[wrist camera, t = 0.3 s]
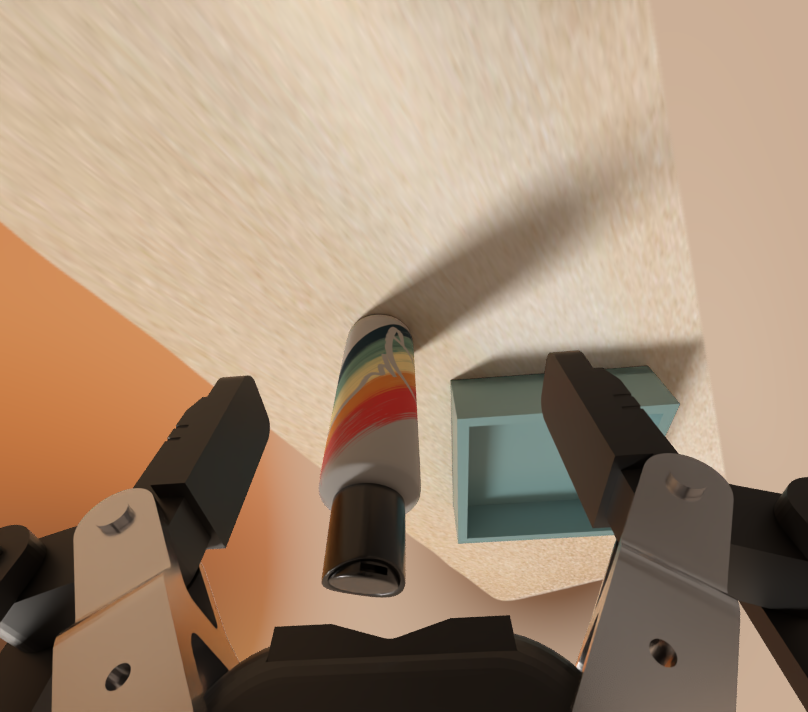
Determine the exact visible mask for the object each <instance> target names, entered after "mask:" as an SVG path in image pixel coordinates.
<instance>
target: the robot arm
mask: <svg viewBox="0 0 808 712" xmlns="http://www.w3.org/2000/svg"><path fill="white" fill-rule="evenodd" d="M640 406H641V405H640V404H639V403H638V401H637V400H636V399H635V398H634V396H631V393H630V391H629V390H628V389H627V387H626V386H625V385H624V384H623V382H622V381H621V380H620V379H619V378H617V377H616V376H614V375H613V374H611V373H610V372H608V371H607V370H605V369H604V368H593V367H592V366H591V364H590V363H589V361H588V360H587V359H586V357H585V356H584V354H583V353H582V352H581V351H579V350H578V351H566V352H553V353H549V354H548V356H547V359H546V366H545V373H544V381H543V388H542V395H541V408H542V414H543V418H544V421H545V423H546V425H547V427H548V430H549V432H550V434H551V436H552V439H553V441H554V443H555V445H556V448H557V450H558V452H559V454H560V457H561V459H562V461H563V463H564V465H565V468H566V470H567V472H568V474H569V477H570V479H571V481H572V483H573V486H574V488H575V490H576V492H577V494H578V497H579V499H580V501H581V503H582V506H583V508H584V510H585V512H586V515H587V517H588V519H589V521H590V524H591V526H592V528H609V527H611V529H612V531H613V533H614V535H615V537H616V542H615V544H614V547H613V550H612V554H611V557H610V560H609V563H608V566H607V569H606V573H605V576H604V579H603V582H602V585H601V589H600V592H599V595H598V598H597V602H596V605H595V608H594V611H593V614H592V617H591V620H590V623H589V626H588V629H587V632H586V635H585V638H584V641H583V644H582V647H581V650H580V653H579V656H578V659H577V662H576V665H575V666H574V665H573V664H572V663H571V662H570V661H568V660H567V659H565V658H564V657H563V656H561V655H560V654H558V653H557V652H555V651H554V650H552V649H550V648H548V647H546V646H545V645H543V644H541V643H539V642H537V641H534V640H532V639H529V638H527V637H524V636H520V635H517V634H514V633H513V628H512V624H511V619H510V615H507V616H487V617H467V618H450V619H447V620H445V621H442V622H439V623H436V624H434V625H431V626H428V627H425V628H422V629H419V630H417V631H414V632H411V633H408V634H406V635H403V636H400V637H397V638H394V639H386V638H381V637H377V636H374V635H370V634H366V633H362V632H359V631H355V630H351V629H348V628H344V627H340V626H337V625H333V624H323V625H303V626H284V627H275V629H274V633H273V637H272V641H271V645H270V647H268V648H265V649H263V650H261V651H259V652H257V653H255V654H253V655H251V656H249V657H248V658H246V659H245V660H243V661H242V662H239V660H238V658H237V656H236V654H235V652H234V650H233V649H232V647H231V645H230V643H229V640H228V638H227V636H226V633H225V630H224V627H223V624H222V621H221V618H220V615H219V612H218V609H217V606H216V603H215V600H214V596H213V593H212V590H211V587H210V584H209V581H208V578H207V575H206V572H205V569H204V567H203V565H202V564H201V560H202V558H203V555H204V553H205V550H206V549H221V548H226V546H227V543H228V541H229V538H230V536H231V533H232V531H233V528H234V525H235V523H236V520H237V518H238V515H239V513H240V510H241V508H242V505H243V502H244V500H245V497H246V495H247V492H248V489H249V487H250V484H251V482H252V479H253V477H254V474H255V471H256V469H257V466H258V464H259V461H260V459H261V456H262V454H263V451H264V449H265V446H266V443H267V441H268V438H269V432H270V423H269V418H268V415H267V412H266V410H265V407H264V404H263V402H262V399H261V396H260V394H259V391H258V389H257V386H256V383H255V381H254V379H253V378H252V377H251V376H236V377H223V378H220V379H219V380H218V381H217V383H216V384H215V386H214V387H213V389H212V390H211V392H210V393H209V395H208V396H207V397H202V398H201V399H200V400H199V401H198V402H196V403H195V404H194V405H193V406H191V407H190V408H189V409H188V410H187V411H186V412H185V413H184V415H183V416H182V418H181V419H180V421H179V422H178V423H177V425H176V429H173V431H172V432H171V434H170V435H169V436H168V441H165V442H164V444H163V445H162V447H161V448H160V450H159V451H158V452H157V454H156V455H155V457H154V458H153V460H152V461H151V463H150V464H149V466H148V467H147V468H146V470H145V471H144V473H143V474H142V476H141V477H140V479H139V480H138V482H137V483H136V484H135V486H134V487H133V489H128V490H124V491H121V492H118V493H116V494H114V495H112V496H110V497H108V498H106V499H105V500H103V501H102V502H100V503H99V504H97V505H96V506H95V507H94V508H92V509H91V510H90V511H89V512H88V513H87V514H86V515H85V516H84V518H83V519H82V520H81V521H80V523H79V525H78V526H76V527H72V528H69V529H66V530H63V531H60V532H57V533H54V534H51V535H48V536H45V537H42V538H39V539H38V538H37V537H36V536H35V535H34V534H33V533H32V532H30V531H29V530H28V529H27V528H26V527H24V526H21V525H11V526H6V527H2V528H0V638H1V639H3V640H4V641H6V642H7V644H6V645H5V647H4V648H3V650H2V651H1V653H0V712H736V697H737V696H736V695H737V676H738V655H739V634H740V608H739V603H738V601H739V602H740V604H741V605H742V607H743V608H744V610H745V612H746V613H747V615H748V616H749V618H750V620H751V621H752V623H753V625H754V626H755V628H756V630H757V631H758V633H759V634H760V636H761V638H762V639H763V641H764V643H765V644H766V646H767V647H768V649H769V651H770V652H771V654H772V656H773V657H774V659H775V661H776V662H777V664H778V665H779V667H780V668H781V670H782V672H783V674H784V675H785V677H786V678H787V680H788V682H789V683H790V685H791V687H792V688H793V690H794V691H795V693H796V695H797V696H798V698H799V700H800V701H801V703H802V704H803V706H804V708H805V709H806V711H807V712H808V477H804V478H799V479H796V480H794V481H792V482H791V483H790V484H789V485H788V487H787V488H786V490H785V491H784V492H783V494H780V493H774V492H768V491H763V490H758V489H752V488H747V487H741V486H736V485H732V484H728V482H727V481H726V480H725V479H724V478H723V477H722V476H721V475H720V474H719V473H718V472H717V471H716V470H714V469H713V468H712V467H710V466H708V465H707V464H705V463H703V462H701V461H699V460H697V459H694V458H692V457H688V456H685V455H681V454H678V452H677V451H676V450H675V449H674V447H673V446H672V445H671V444H670V442H669V441H668V440H667V438H666V437H665V436H664V435H663V433H662V432H661V431H660V429H659V428H658V427H657V426H656V424H655V423H654V422H653V421H652V419H651V418H650V417H649V415H648V414H647V413H646V412H645V410H644V409H643V408H642V409H641V407H640Z"/></svg>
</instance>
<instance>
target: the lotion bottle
mask: <svg viewBox="0 0 808 712" xmlns="http://www.w3.org/2000/svg"><path fill="white" fill-rule="evenodd" d="M420 492H421V479H420V457H419V439H418V421H417V402H416V384H415V366H414V349H413V341H412V336H411V334H410V331H409V330H408V328H407V327H406V326H405V325H404V324H403V323H402V322H401V321H400V320H398V319H396V318H394V317H391V316H388V315H370V316H367V317H364V318H362V319H361V320H359V321H358V322H356V323H355V324H354V326H353V327H352V328H351V330H350V332H349V334H348V337H347V341H346V345H345V350H344V355H343V360H342V365H341V370H340V375H339V381H338V386H337V391H336V396H335V401H334V406H333V412H332V417H331V422H330V427H329V432H328V437H327V442H326V448H325V453H324V458H323V463H322V469H321V474H320V481H319V495H320V498H321V500H322V502H323V503H324V505H325V506H326V507H327V508H328V509H329V510H331V515H330V522H329V529H328V537H327V544H326V551H325V558H324V566H323V573H322V585H323V586H324V587H325V588H327V589H329V590H333V591H337V592H342V593H348V594H355V595H361V596H370V597H392V596H396V595H398V594H399V593H401V592H402V591H403V589H404V587H405V514H406V513H408V512H409V511H410V510H411V509H412V508H413V507H414V506H415V505H416V504H417V502H418V500H419V497H420Z"/></svg>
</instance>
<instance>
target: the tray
mask: <svg viewBox="0 0 808 712" xmlns="http://www.w3.org/2000/svg"><path fill="white" fill-rule="evenodd" d="M605 370H607V371H608V372H610V373H611V374H613V375H614V376H616V377H617V378H619V379H620V380H621V381H622V382H623V384H624V385H625V386H626V387H627V389H628V390H629V391H630V393H631V396H634V398H635V399H636V400H637V401H638V403H639V404H640V405H641V406H640V407H641V409H642V408H643V409H644V410H645V412H646V413H647V414H648V415H649V417H650V418H651V419H652V421H653V422H654V423H655V424H656V426H657V427H658V428H659V429H660V431H661V432H662V433H663V435H664V436H666V433H667V431H668V429H669V427H670V425H671V423H672V420H673V418H674V416H675V414H676V412H677V410H678V407H679V405H680V403H679V402H678V401H677V399H676V398H675V397H674V396H673V395H672V394H671V392H670V391H669V390H668V389H667V388H666V386H665V385H664V384H663V383H662V382H661V381H660V379H659V378H658V377H657V376H656V375H655V374H654V372H653V371H652V370H651V369H650V368H649V366H640V367H626V368H613V369H605ZM543 381H544V374H531V375H518V376H504V377H490V378H477V379H463V380H451V424H452V475H453V507H454V515H455V523H456V531H457V539H458V544H462V543H480V542H497V541H515V540H533V539H551V538H569V537H587V536H605V535H614V533H613V531H612V529H611V527H609V528H592V526H591V524H590V521H589V519H588V517H587V515H586V512H585V510H584V508H583V506H582V503H581V501H580V499H579V497H578V494H577V492H576V490H575V488H574V486H573V483H572V481H571V479H570V477H569V474H568V472H567V470H566V468H565V465H564V463H563V461H562V459H561V457H560V454H559V452H558V450H557V448H556V445H555V443H554V441H553V439H552V436H551V434H550V432H549V430H548V427H547V425H546V423H545V421H544V418H543V414H542V408H541V395H542V388H543Z"/></svg>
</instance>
